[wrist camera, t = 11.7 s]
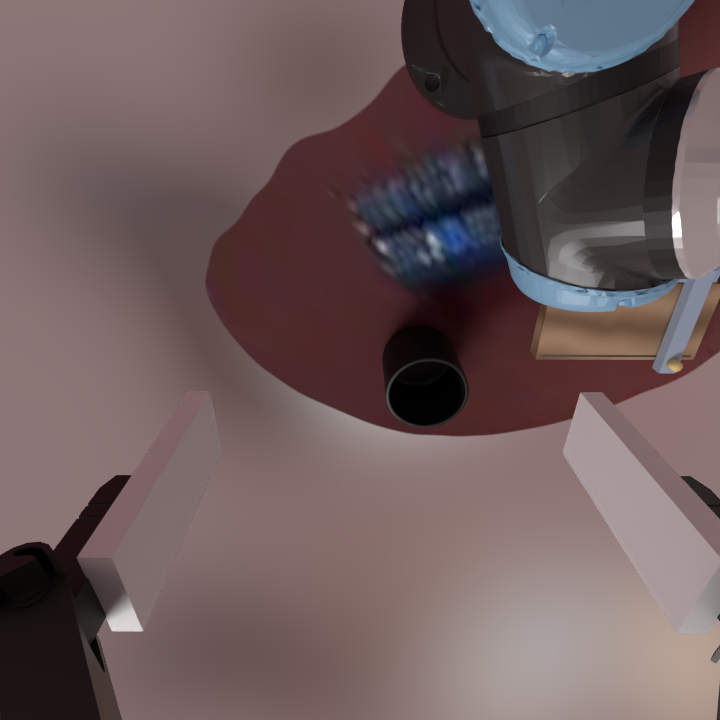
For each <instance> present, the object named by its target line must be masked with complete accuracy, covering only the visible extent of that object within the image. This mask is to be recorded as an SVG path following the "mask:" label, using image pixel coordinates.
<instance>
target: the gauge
mask: <svg viewBox="0 0 720 720" xmlns="http://www.w3.org/2000/svg"><path fill="white" fill-rule="evenodd" d="M719 276H720V266H719V267H717V268H716V269H715V270H713V271H712V272H711V273H709V274H708V275H706V276H705V277H703V278H700V279H680V280H679V281H678V282H685V283H684V285H683V288H682V291H681V293H680V296H679V298H678V301H677V304H676V306H675V309H674V312H673V314H672V317H671V319H670V322H669V325H668V327H667V330H666V333H665V335H664V338H663V340H662V343H661V346H660V348H659V351H658V353H657V356H656V359H655V361H654V364H653V367H652V368H653V369H654V370H656V371H657V372H658V373H675V372H678V371H680V370H681V369H682V368H683V364H682V363H680V360H681V358H682V355H683V353H684V350H685V348H686V346H687V343H688V341H689V338H690V336H691V333H692V331H693V329H694V326H695V324H696V321H697V319H698V317H699V314H700V312H701V309H702V307H703V304H704V302H705V300H706V297H707V295H708V292H709V290H710V288H711V285H712V283H713V282H717V281H718V278H719Z"/></svg>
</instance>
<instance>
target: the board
mask: <svg viewBox="0 0 720 720" xmlns="http://www.w3.org/2000/svg"><path fill="white" fill-rule="evenodd" d="M684 283H685V282H678V283H677V284H676V286H675V287H674V288H673V289H672V290H671V291H670V292H669V293H667V294H666V295H664V296H662V297H660V298H658V299H657V300H655V301H652V302H650V303H647V304H644V305H641V306H637V307H633V308H631V307H627V306H622V305H619V306H617V309H616V310H615V311H605V312H578V311H569V310H563V309H558V308H554V307H550V306H547V305H544V304H540V308H539V313H538V317H537V322H536V327H535V331H534V336H533V340H532V345H531V349H530V353H531V354H532V355H533V357H534V358H535V359H601V360H655V359H656V356H657V353H658V351H659V348H660V346H661V343H662V340H663V338H664V335H665V333H666V330H667V327H668V325H669V322H670V319H671V317H672V314H673V312H674V309H675V306H676V304H677V301H678V298H679V296H680V293H681V291H682V288H683V285H684ZM719 299H720V281H717V282H713V283H712V285H711V288H710V290H709V292H708V295H707V297H706V300H705V302H704V304H703V307H702V309H701V312H700V314H699V317H698V319H697V321H696V324H695V326H694V329H693V331H692V333H691V336H690V338H689V341H688V343H687V346H686V348H685V350H684V353H683V355H682V358H681V360H693V359H694V357H695V354H696V352H697V350H698V347H699V345H700V343H701V340H702V338H703V336H704V333H705V331H706V329H707V326H708V324H709V322H710V319H711V317H712V315H713V312H714V310H715V308H716V305H717V303H718V301H719Z"/></svg>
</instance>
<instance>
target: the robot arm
mask: <svg viewBox="0 0 720 720" xmlns="http://www.w3.org/2000/svg"><path fill="white" fill-rule="evenodd" d="M694 1H695V0H405V1H404V6H403V12H402V22H401V39H402V49H403V54H404V59H405V62H406V66H407V69H408V71H409V74H410V76H411V78H412V80H413V82H414V84H415V86H416V87H417V89H418V90H419V92H420V93H421V94H422V96H423V97H424V98H425V99H426V100H427V101H428V102H429V103H430V104H431V105H433V106H434V107H435V108H437V109H438V110H440V111H441V112H443V113H445V114H447V115H450V116H453V117H456V118H460V119H467V120H478V123H479V128H480V133H481V140H482V144H483V149H484V154H485V158H486V163H487V168H488V173H489V177H490V182H491V187H492V191H493V196H494V201H495V206H496V210H497V215H498V220H499V224H500V229H501V231H500V234H499V238H500V245H501V248H502V249H503V251H504V254H505V256H506V257H507V261H508V265H509V269H510V272H511V276H512V278H513V280H514V282H515V283H516V285H517V286H518V288H519V289H520V290H521V291H522V292H523V293H524V294H525V295H527V296H528V297H530V298H531V299H533V300H535V301H537V302H539V303H541V304H544V305H547V306H550V307H554V308H558V309H563V310H569V311H578V312H605V311H615V310H616V309H617V306H619V305H622V306H627V307H631V308H633V307H637V306H641V305H644V304H647V303H650V302H652V301H655V300H657V299H658V298H660V297H662V296H664V295H666V294H667V293H669V292H670V291H671V290H672V289H673V288H674V287H675V286H676V284H677V283H678V281H679V280H680V279H700V278H703V277H705V276H706V275H708V274H709V273H711V272H712V271H713V270H715V269H716V268H717V267H719V266H720V67H718V68H712V69H709V70H706V71H702V72H699V73H696V74H692V75H689V76H686V77H681V76H680V68H679V64H680V63H679V19H680V17H681V16H682V15H683V14H684V13H685V12H686V11H687V9H688V8H689V7H690V6H691V5H692V3H693V2H694ZM221 453H222V449H221V444H220V439H219V434H218V429H217V425H216V419H215V414H214V409H213V404H212V400H211V395H210V391H188V393H187V394H186V396H185V397H184V398H183V400H182V402H181V403H180V404H179V406H178V407H177V409H176V410H175V412H174V413H173V415H172V416H171V418H170V420H169V421H168V422H167V424H166V425H165V427H164V428H163V430H162V431H161V433H160V434H159V436H158V437H157V439H156V440H155V442H154V443H153V445H152V446H151V448H150V449H149V451H148V452H147V453H146V455H145V457H144V458H143V460H142V461H141V462H140V464H139V465H138V467H137V469H136V470H135V471H134V473H133V474H132V475H116V476H115V477H114V478H112V479H111V480H109V481H108V482H107V483H106V484H104V485H103V486H102V487H100V488H99V490H98V491H97V492H96V494H95V495H94V497H93V498H92V499H91V500H90V502H89V503H88V506H86V507H85V509H84V510H83V511H82V513H81V514H80V515H79V519H77V520H76V521H75V522H74V523H73V525H72V526H71V527H70V529H69V530H68V531H67V533H66V534H65V536H64V537H63V538H62V540H61V541H60V542H59V544H58V545H57V546H56V548H55V549H54V550H52V548H51V547H50V546H49V545H48V544H45V543H42V542H33V543H26V544H23V545H20V546H17V547H14V548H12V549H10V550H8V551H7V552H5V553H3V554H1V555H0V720H122V718H121V715H120V711H119V708H118V704H117V700H116V697H115V694H114V689H113V686H112V682H111V679H110V675H109V672H108V668H107V664H106V661H105V657H104V654H103V650H102V646H101V643H100V640H99V638H98V636H97V633H98V631H99V629H100V627H101V625H102V623H103V621H104V620H105V618H106V619H107V622H108V624H109V625H110V628H111V629H112V631H143V630H144V628H145V626H146V624H147V621H148V619H149V617H150V614H151V612H152V610H153V608H154V605H155V603H156V601H157V599H158V596H159V594H160V592H161V589H162V587H163V585H164V583H165V580H166V578H167V576H168V573H169V571H170V569H171V567H172V564H173V562H174V560H175V557H176V555H177V553H178V551H179V548H180V546H181V544H182V541H183V539H184V537H185V535H186V532H187V530H188V528H189V525H190V523H191V521H192V519H193V516H194V514H195V512H196V510H197V507H198V505H199V503H200V501H201V498H202V496H203V494H204V491H205V489H206V487H207V485H208V482H209V480H210V478H211V475H212V473H213V471H214V469H215V466H216V464H217V462H218V459H219V457H220V455H221ZM563 454H564V456H565V457H566V459H567V461H568V462H569V464H570V465H571V467H572V469H573V470H574V472H575V473H576V475H577V477H578V478H579V480H580V481H581V483H582V484H583V486H584V488H585V489H586V491H587V492H588V494H589V496H590V497H591V499H592V500H593V502H594V503H595V505H596V507H597V508H598V510H599V511H600V513H601V515H602V516H603V518H604V519H605V521H606V523H607V524H608V526H609V527H610V529H611V531H612V532H613V534H614V535H615V537H616V539H617V540H618V542H619V543H620V545H621V546H622V548H623V550H624V551H625V553H626V554H627V556H628V558H629V559H630V561H631V562H632V564H633V565H634V567H635V569H636V570H637V572H638V574H639V575H640V577H641V578H642V580H643V581H644V583H645V585H646V586H647V588H648V589H649V591H650V592H651V594H652V595H653V597H654V599H655V601H656V602H657V604H658V605H659V607H660V608H661V610H662V612H663V613H664V615H665V616H666V618H667V620H668V621H669V623H670V624H671V626H672V627H673V629H674V631H675V632H676V634H708V632H709V631H710V629H711V628H712V626H713V625H714V624H715V622H716V621H717V619H719V621H720V499H719V498H718V497H717V496H716V495H715V494H714V493H713V492H712V491H711V490H710V489H709V488H707V487H706V486H704V485H703V484H701V483H700V482H698V481H697V480H695V479H694V478H692V477H690V476H679V475H678V474H677V473H676V471H674V469H673V468H672V467H671V466H670V465H669V464H668V463H667V462H666V461H665V460H664V459H663V457H662V456H661V455H660V454H659V453H658V452H657V451H656V450H655V449H654V448H653V447H652V446H651V445H650V443H649V442H648V441H647V440H646V439H645V438H644V437H643V436H642V435H641V434H640V433H639V432H638V430H637V429H636V428H635V427H634V426H633V425H632V424H631V423H630V422H629V421H628V420H627V419H626V418H625V417H624V415H623V414H622V413H621V412H620V411H619V410H618V409H617V408H616V407H615V406H614V405H613V404H612V402H611V401H610V400H609V399H608V398H607V397H606V396H605V395H604V394H603V393H602V392H581V393H580V396H579V399H578V403H577V406H576V409H575V413H574V416H573V419H572V423H571V426H570V430H569V433H568V436H567V440H566V443H565V446H564V450H563ZM719 659H720V646H719V647H718V648H717V650H716V651H715V653H714V654H713V656H712V658H711V661H713V662H714V663H717V661H718V660H719ZM717 720H720V688H719V699H718V711H717Z"/></svg>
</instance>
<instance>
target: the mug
mask: <svg viewBox="0 0 720 720" xmlns="http://www.w3.org/2000/svg"><path fill="white" fill-rule="evenodd" d="M383 371H384V382H385V393H386V401H387V404H388V407H389V409H390V411H391V412H392V413H393V415H394V416H395V417H396V418H398V419H399V420H400V421H402V422H404V423H406V424H408V425H411V426H415V427H424V428H426V427H434V426H438V425H441V424H444V423H446V422H448V421H450V420H451V419H453V418H454V417H455V416H457V415H458V414H459V413H460V411H461V410H462V409H463V407H464V406H465V404H466V401H467V399H468V394H469V386H468V381H467V379H466V376H465V374H464V371H463V369H462V367H461V364H460V362H459V360H458V357H457V355H456V353H455V350H454V348H453V346H452V343H451V342H450V340H449V339H448V338H447V337H446V335H444V334H443V333H442V332H440V331H438V330H437V329H434V328H431V327H426V326H416V327H410V328H407V329H405V330H402V331H401V332H399V333H397V334H396V335H395V336H394V337H393V338H392V339H391V340H390V341H389V342H388V344H387V345H386V347H385V350H384V353H383Z"/></svg>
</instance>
